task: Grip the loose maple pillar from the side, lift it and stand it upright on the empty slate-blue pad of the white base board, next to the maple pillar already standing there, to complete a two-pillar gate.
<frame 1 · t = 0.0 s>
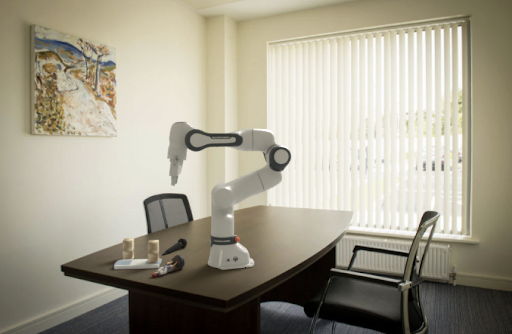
hand: (174, 184, 178), 39 cm above the table, tool pointing down, fingers open, 8 cm apart
microphone: (173, 251, 205), on the table
loose pillar: (128, 258, 189), on the table
white base board: (138, 265, 179), on the table
standing pillar: (153, 261, 179), point 2 cm above the table, touching white base board
figurine: (167, 273, 169), on the table
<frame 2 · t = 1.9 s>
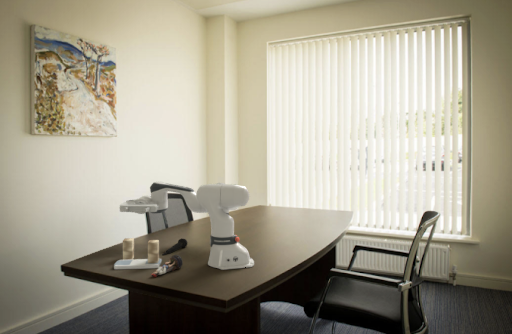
hand: (135, 210, 201), 22 cm above the table, tool horizontal, fingers open, 8 cm apart
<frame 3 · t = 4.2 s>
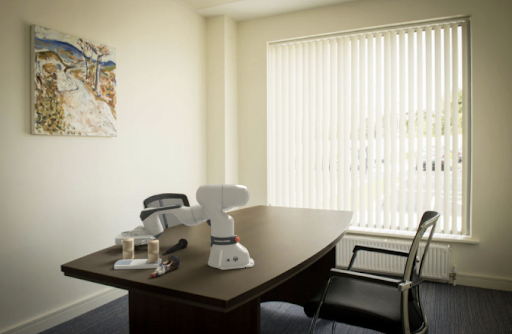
hand: (132, 243, 198), 5 cm above the table, tool horizontal, fingers open, 8 cm apart
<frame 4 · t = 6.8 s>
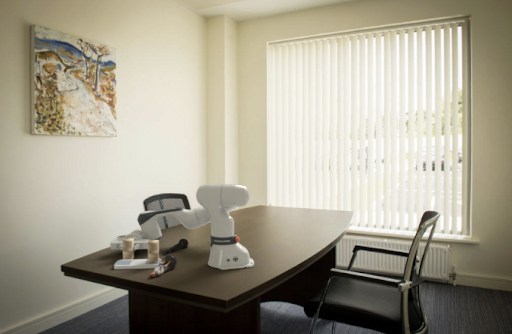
hand: (128, 248, 187), 6 cm above the table, tool horizontal, fingers closed on loose pillar, 4 cm apart
loose pillar: (128, 258, 189), on the table, touching gripper
figurine: (161, 272, 169), on the table
everything else where it was.
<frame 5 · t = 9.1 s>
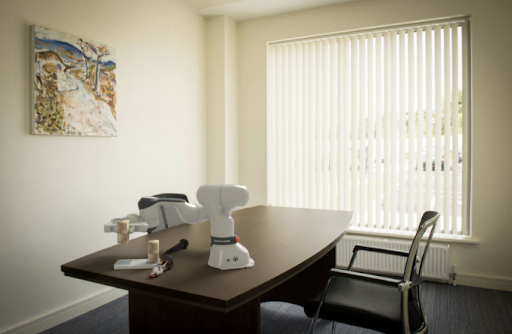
hand: (122, 230, 176), 17 cm above the table, tool horizontal, fingers closed on loose pillar, 4 cm apart
loose pillar: (123, 242, 177), point 11 cm above the table, touching gripper
when the fingers open (8 cm above the table, at t = 11.4 s): loose pillar drops 1 cm, resting on white base board.
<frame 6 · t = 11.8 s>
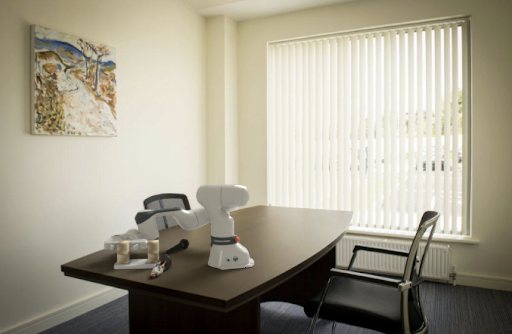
hand: (122, 248, 176), 8 cm above the table, tool horizontal, fingers open, 8 cm apart
loose pillar: (123, 262, 178), point 2 cm above the table, touching white base board
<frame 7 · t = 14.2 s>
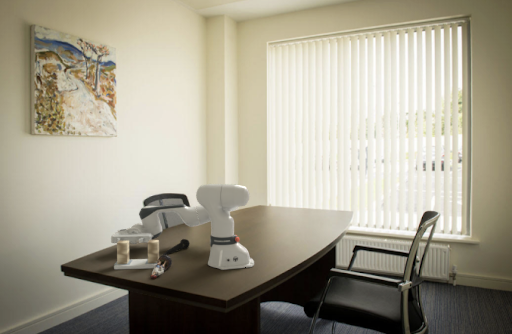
hand: (128, 241, 189), 8 cm above the table, tool horizontal, fingers open, 8 cm apart
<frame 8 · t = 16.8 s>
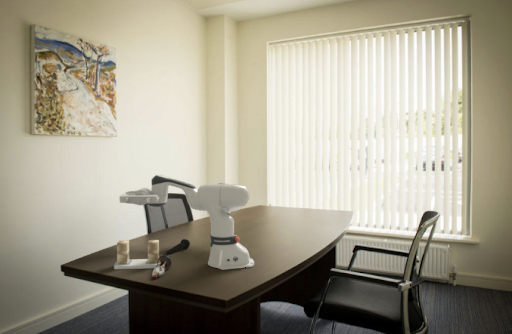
hand: (136, 200, 198), 28 cm above the table, tool horizontal, fingers open, 8 cm apart
figurine: (159, 273, 168), on the table, touching white base board
at the end: loose pillar 0.1 cm from the target spot, point 1.5 cm above the table; loose pillar tilted 0°; standing pillar moved 0.0 cm from its start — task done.
